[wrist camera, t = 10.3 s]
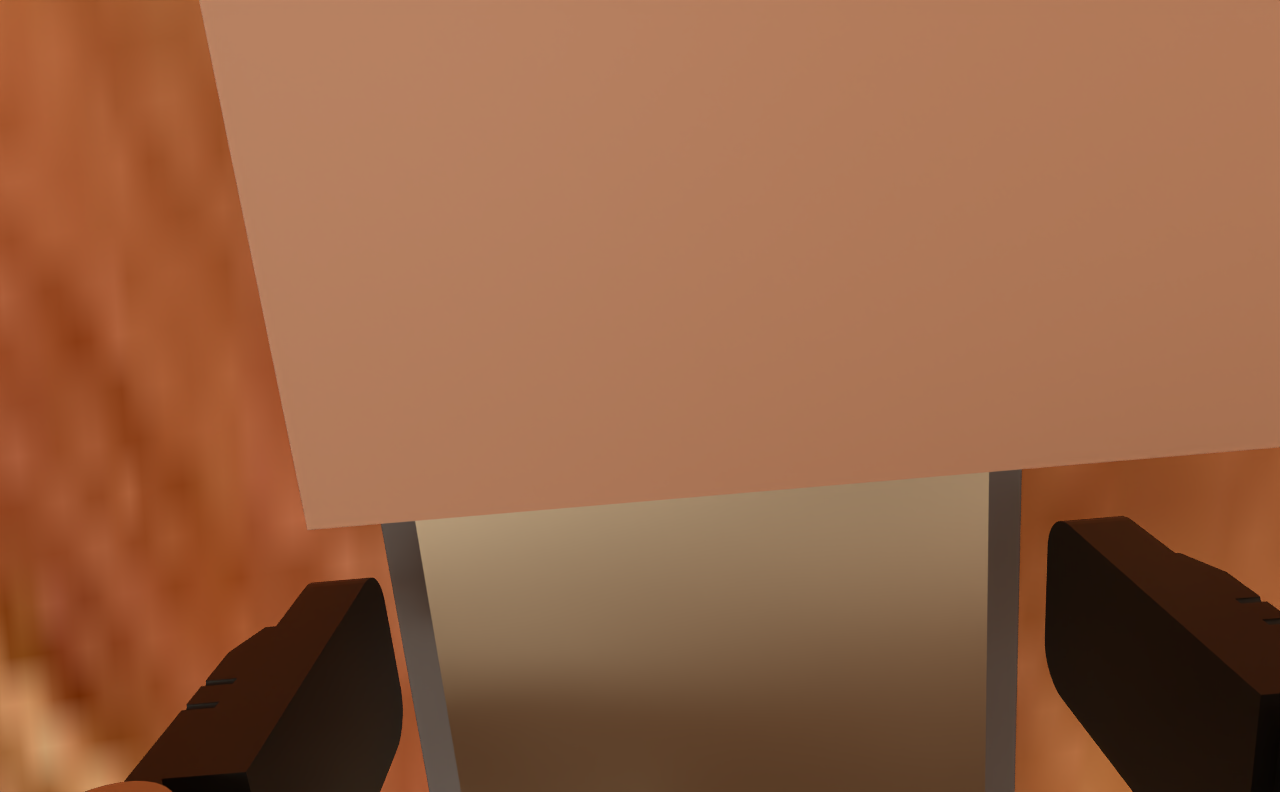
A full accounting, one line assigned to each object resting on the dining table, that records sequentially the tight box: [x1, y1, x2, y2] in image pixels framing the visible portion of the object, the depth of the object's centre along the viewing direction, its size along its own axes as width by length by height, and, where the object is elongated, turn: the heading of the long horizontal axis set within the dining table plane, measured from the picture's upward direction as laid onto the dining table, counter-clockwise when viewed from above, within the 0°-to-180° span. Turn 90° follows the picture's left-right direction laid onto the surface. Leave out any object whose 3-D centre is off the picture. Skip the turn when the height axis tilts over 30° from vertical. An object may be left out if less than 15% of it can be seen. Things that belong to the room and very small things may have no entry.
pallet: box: [415, 472, 989, 792], centre depth 10 cm, size 20×5×6 cm, turn 5°
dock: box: [381, 469, 1022, 792], centre depth 15 cm, size 24×9×4 cm, turn 5°
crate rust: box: [199, 0, 1280, 530], centre depth 5 cm, size 4×4×4 cm
